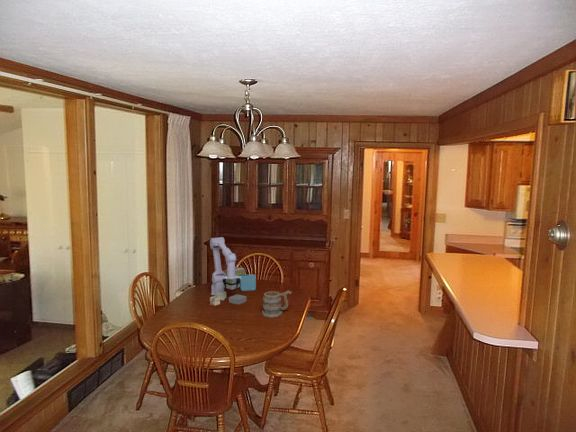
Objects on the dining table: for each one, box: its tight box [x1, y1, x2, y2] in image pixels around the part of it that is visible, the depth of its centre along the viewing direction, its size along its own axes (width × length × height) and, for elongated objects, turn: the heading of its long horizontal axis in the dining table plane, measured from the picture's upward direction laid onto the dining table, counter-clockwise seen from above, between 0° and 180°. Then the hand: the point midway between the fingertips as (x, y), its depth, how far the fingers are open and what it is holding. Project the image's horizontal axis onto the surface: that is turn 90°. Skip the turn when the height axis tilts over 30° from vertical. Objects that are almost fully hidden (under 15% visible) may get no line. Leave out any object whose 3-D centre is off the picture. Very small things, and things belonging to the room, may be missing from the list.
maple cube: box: [209, 295, 221, 306], centre depth 295 cm, size 5×5×5 cm
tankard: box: [261, 290, 293, 318], centre depth 277 cm, size 20×13×15 cm, turn 105°
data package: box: [239, 273, 257, 292], centre depth 328 cm, size 12×4×12 cm, turn 101°
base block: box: [228, 293, 247, 305], centre depth 300 cm, size 9×9×4 cm
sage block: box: [217, 290, 227, 301], centre depth 306 cm, size 5×5×5 cm
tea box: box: [223, 266, 246, 291], centre depth 335 cm, size 15×10×15 cm
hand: (231, 289), depth 297 cm, fingers open, 7 cm apart
